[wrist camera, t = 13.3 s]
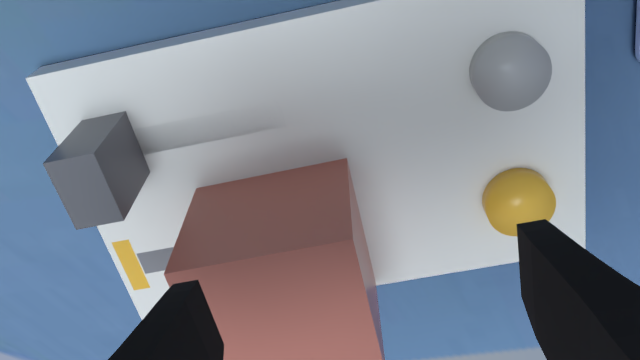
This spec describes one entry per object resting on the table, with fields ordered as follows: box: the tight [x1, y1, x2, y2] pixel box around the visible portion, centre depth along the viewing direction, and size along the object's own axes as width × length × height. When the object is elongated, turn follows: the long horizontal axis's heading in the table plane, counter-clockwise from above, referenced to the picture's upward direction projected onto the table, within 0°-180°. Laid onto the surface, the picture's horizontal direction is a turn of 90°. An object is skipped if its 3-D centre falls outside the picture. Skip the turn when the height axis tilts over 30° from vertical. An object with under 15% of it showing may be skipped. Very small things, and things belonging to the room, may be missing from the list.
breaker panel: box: [26, 0, 585, 320], centre depth 20 cm, size 18×11×4 cm, turn 102°
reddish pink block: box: [164, 158, 385, 360], centre depth 20 cm, size 6×6×5 cm
